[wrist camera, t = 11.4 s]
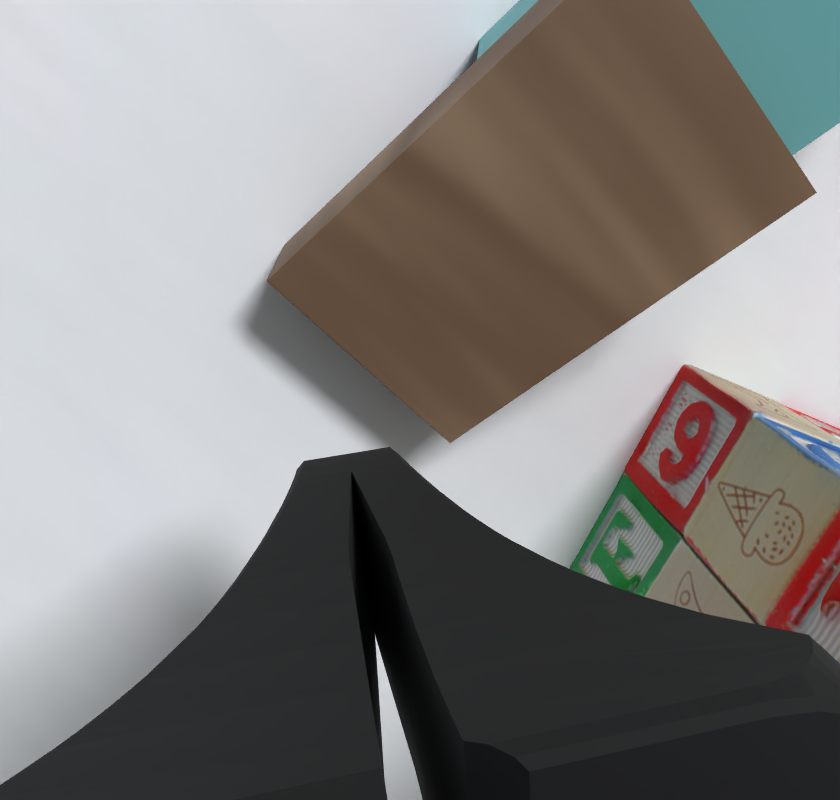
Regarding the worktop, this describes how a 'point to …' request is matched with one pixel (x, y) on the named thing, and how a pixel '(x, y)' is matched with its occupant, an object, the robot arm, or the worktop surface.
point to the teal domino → (767, 57)
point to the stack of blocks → (728, 511)
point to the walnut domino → (541, 205)
